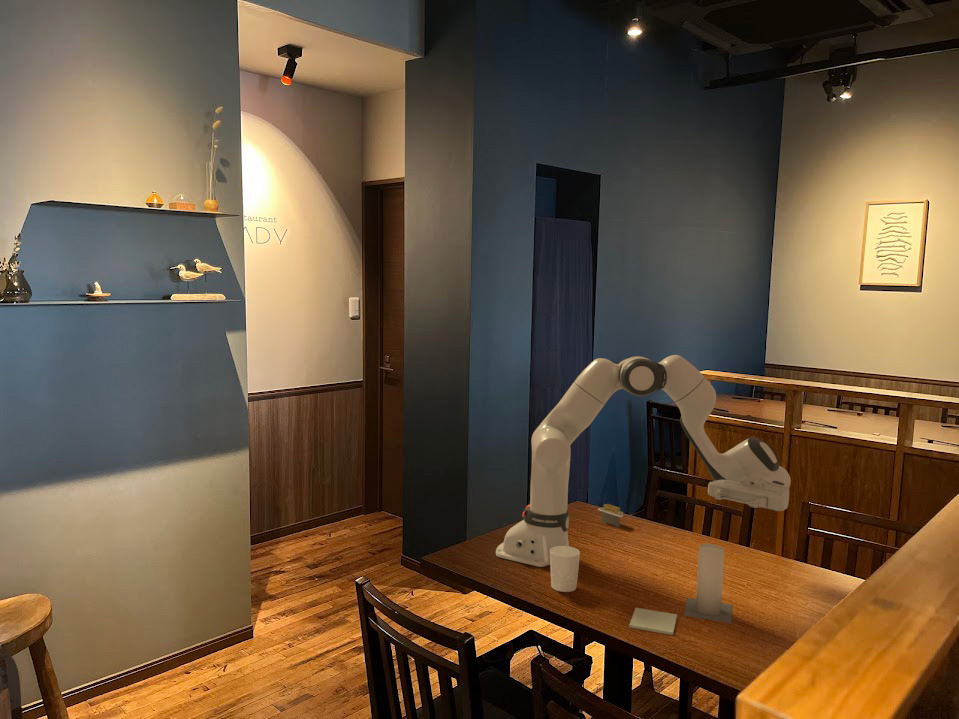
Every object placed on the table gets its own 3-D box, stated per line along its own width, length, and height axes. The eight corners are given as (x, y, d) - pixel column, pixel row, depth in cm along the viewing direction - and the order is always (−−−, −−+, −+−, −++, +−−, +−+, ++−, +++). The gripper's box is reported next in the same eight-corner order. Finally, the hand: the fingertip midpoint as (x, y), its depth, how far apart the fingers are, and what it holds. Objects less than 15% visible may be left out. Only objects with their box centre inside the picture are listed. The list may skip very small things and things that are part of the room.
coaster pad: (629, 628, 170) (629, 624, 170) (635, 610, 179) (635, 607, 179) (672, 635, 166) (673, 632, 166) (676, 617, 176) (677, 614, 175)
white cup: (561, 578, 198) (562, 543, 197) (584, 587, 192) (585, 551, 191) (543, 586, 193) (544, 550, 192) (566, 596, 187) (567, 558, 186)
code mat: (683, 616, 176) (683, 615, 176) (687, 598, 187) (687, 597, 187) (731, 624, 173) (731, 623, 173) (732, 605, 183) (732, 604, 183)
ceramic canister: (695, 612, 178) (698, 550, 176) (696, 603, 183) (699, 542, 182) (720, 617, 176) (723, 553, 174) (721, 607, 181) (724, 545, 180)
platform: (603, 515, 256) (603, 497, 255) (644, 528, 242) (645, 509, 242) (580, 521, 248) (580, 503, 248) (621, 536, 235) (622, 516, 234)
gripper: (720, 471, 203) (697, 480, 193) (795, 486, 189) (774, 496, 179) (719, 493, 203) (696, 503, 193) (793, 509, 189) (773, 521, 179)
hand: (734, 500), depth 186 cm, fingers open, 8 cm apart
